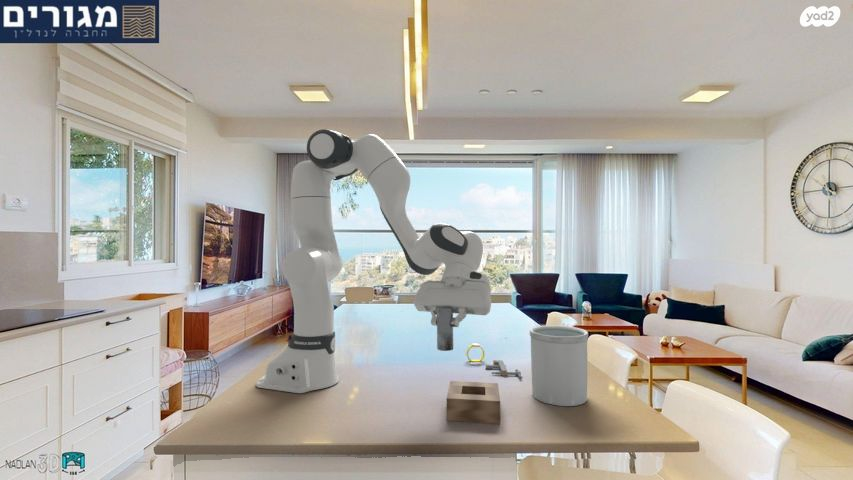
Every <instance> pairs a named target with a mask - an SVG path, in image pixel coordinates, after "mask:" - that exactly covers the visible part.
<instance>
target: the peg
mask: <svg viewBox="0 0 853 480" xmlns="http://www.w3.org/2000/svg"><path fill="white" fill-rule="evenodd" d="M436 316H437V326H436V349H437V350H438V351H440V352H443V351H444V352H447V351H453V350H454V327H452V325H451V321H452V318H454V313H453V308H452V307H438V308H437V315H436Z"/></svg>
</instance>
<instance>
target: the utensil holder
mask: <svg viewBox="0 0 853 480" xmlns="http://www.w3.org/2000/svg"><path fill="white" fill-rule="evenodd" d="M529 336H530V359H531V360H530V361H531V362H530V364H531V365H530V366H531V368H530V369H531V386H532V387H531V388H532V389H531V393H532V396H533V398H534V399H536V400H537V401H539V402H541V403H544V404H547V405H553V406H557V407H576V406H580V405H583V404H585V403H586V402H587V399H588V378H589V377H588V376H589V375H588V373H589V372H588V339H589V332H588V330H586V329H584V328H579V327H576V326H575V327H574V326H569V325H557V324H555V325H553V324H552V325H551V324H550V325H538V326H537V325H536V326H534V327H531V328H530V329H529Z"/></svg>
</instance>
